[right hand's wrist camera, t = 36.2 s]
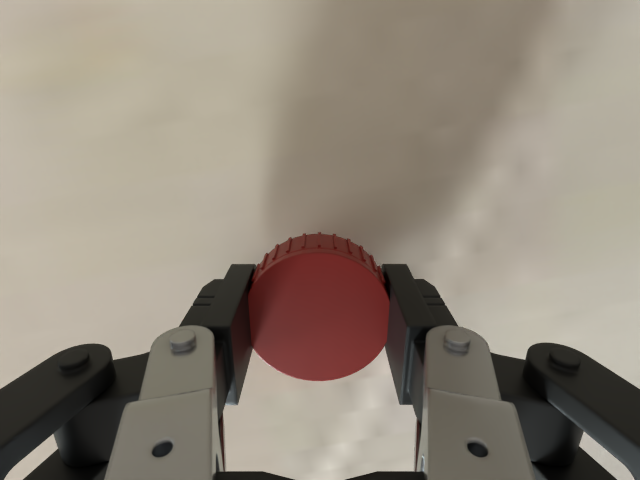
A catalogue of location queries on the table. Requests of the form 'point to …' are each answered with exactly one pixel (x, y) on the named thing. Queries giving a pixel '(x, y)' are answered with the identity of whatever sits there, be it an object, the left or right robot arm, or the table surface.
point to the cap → (318, 308)
